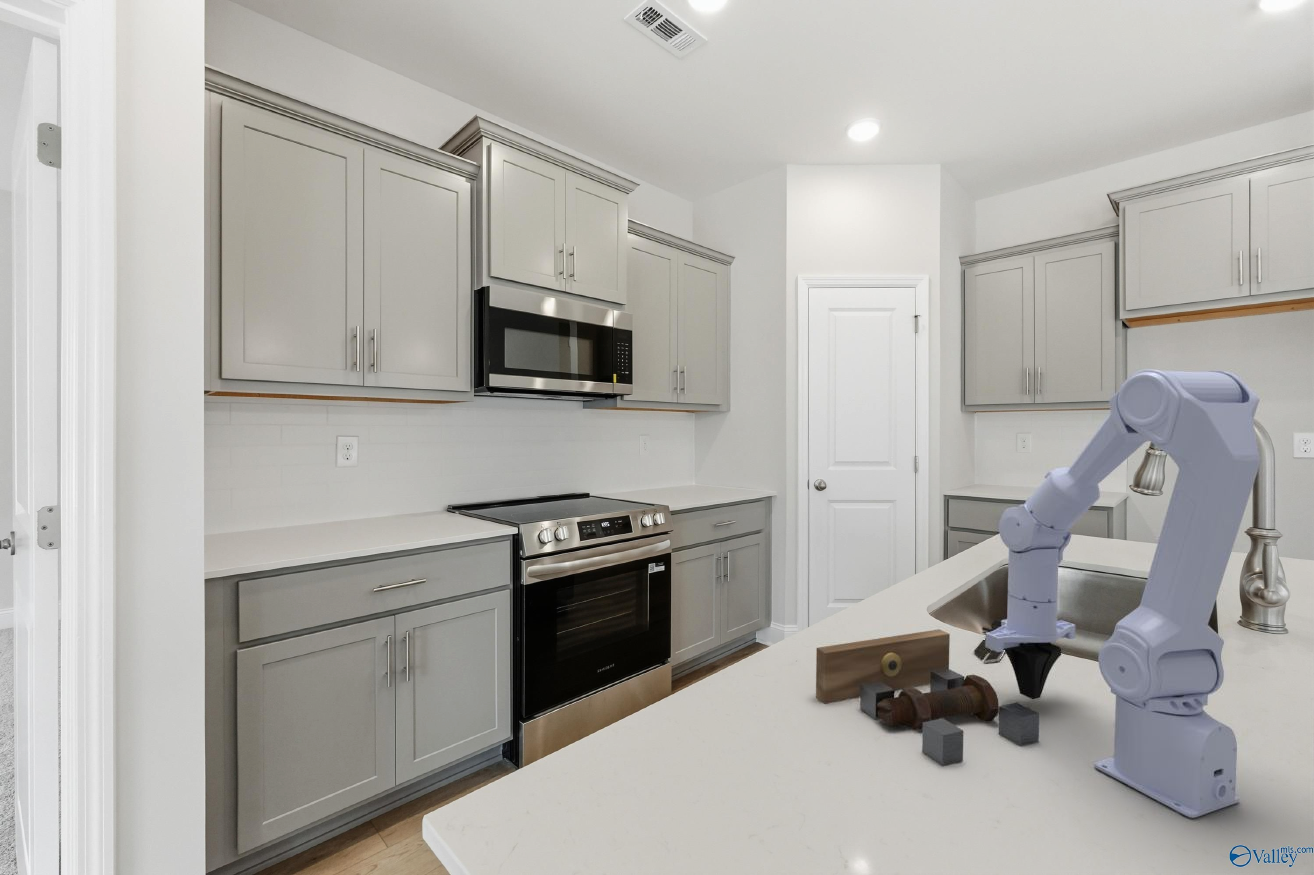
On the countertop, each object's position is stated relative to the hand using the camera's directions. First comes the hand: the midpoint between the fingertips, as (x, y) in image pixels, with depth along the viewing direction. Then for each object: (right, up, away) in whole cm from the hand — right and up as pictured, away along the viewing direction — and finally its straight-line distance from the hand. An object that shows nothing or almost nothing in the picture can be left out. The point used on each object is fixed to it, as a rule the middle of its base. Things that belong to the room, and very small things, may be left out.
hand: (1029, 695), depth 82 cm
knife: (+10, -1, +24) cm, 26 cm away
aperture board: (-18, -1, +5) cm, 19 cm away
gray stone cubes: (-14, -2, -5) cm, 15 cm away
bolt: (-15, -2, -4) cm, 15 cm away
